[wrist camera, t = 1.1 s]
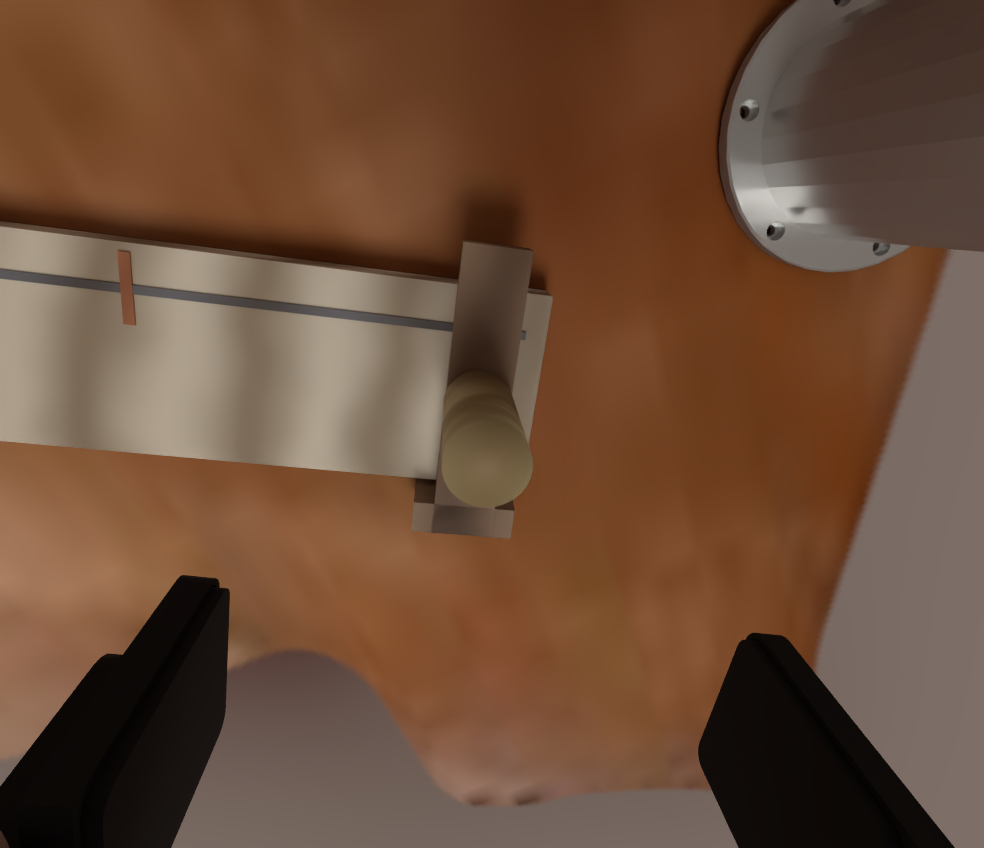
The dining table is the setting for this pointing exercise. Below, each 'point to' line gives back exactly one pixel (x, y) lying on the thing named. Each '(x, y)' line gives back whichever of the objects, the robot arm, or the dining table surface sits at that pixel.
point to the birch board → (230, 353)
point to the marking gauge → (481, 401)
